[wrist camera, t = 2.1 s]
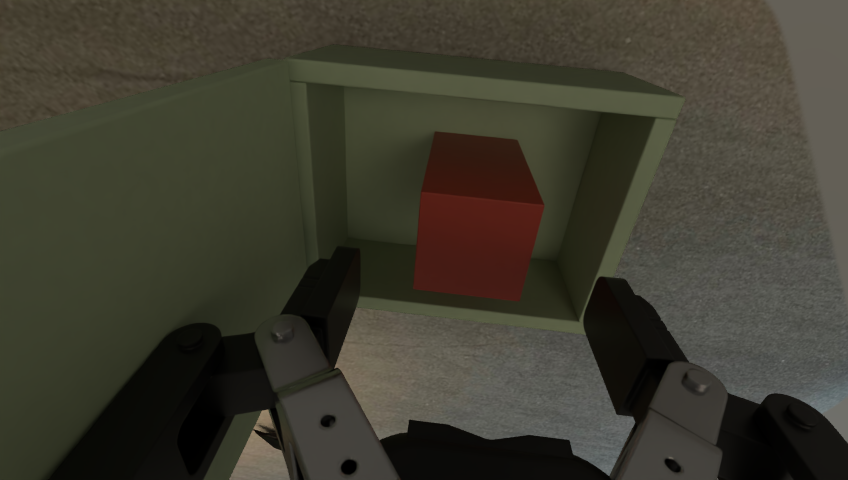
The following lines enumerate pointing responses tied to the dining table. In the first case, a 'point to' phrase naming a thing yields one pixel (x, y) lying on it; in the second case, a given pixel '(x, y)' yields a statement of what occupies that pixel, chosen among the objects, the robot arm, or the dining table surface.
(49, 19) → the dining table surface
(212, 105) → the lid
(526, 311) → the chest
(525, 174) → the block
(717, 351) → the dining table surface
